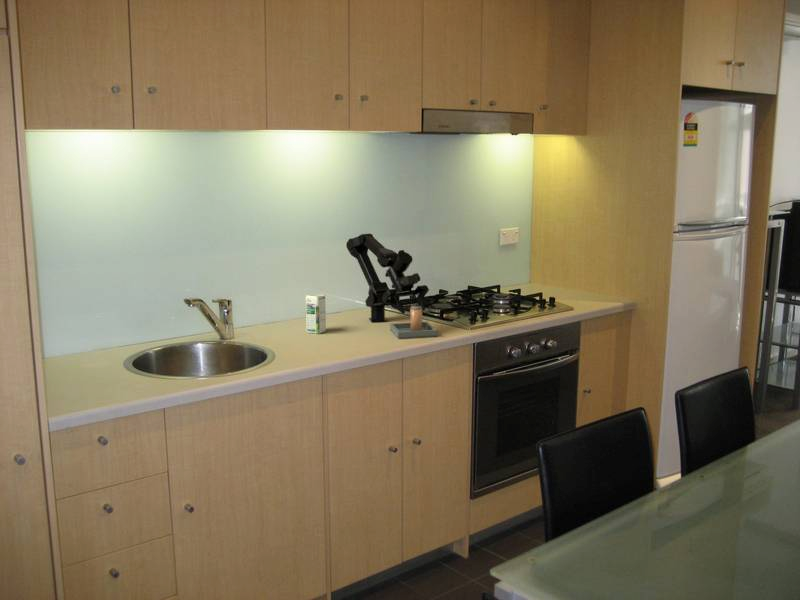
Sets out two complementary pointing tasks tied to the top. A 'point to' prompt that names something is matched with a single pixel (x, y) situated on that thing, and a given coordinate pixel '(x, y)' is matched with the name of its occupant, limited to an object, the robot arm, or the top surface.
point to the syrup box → (315, 314)
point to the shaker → (415, 318)
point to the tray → (404, 331)
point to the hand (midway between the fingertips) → (414, 311)
